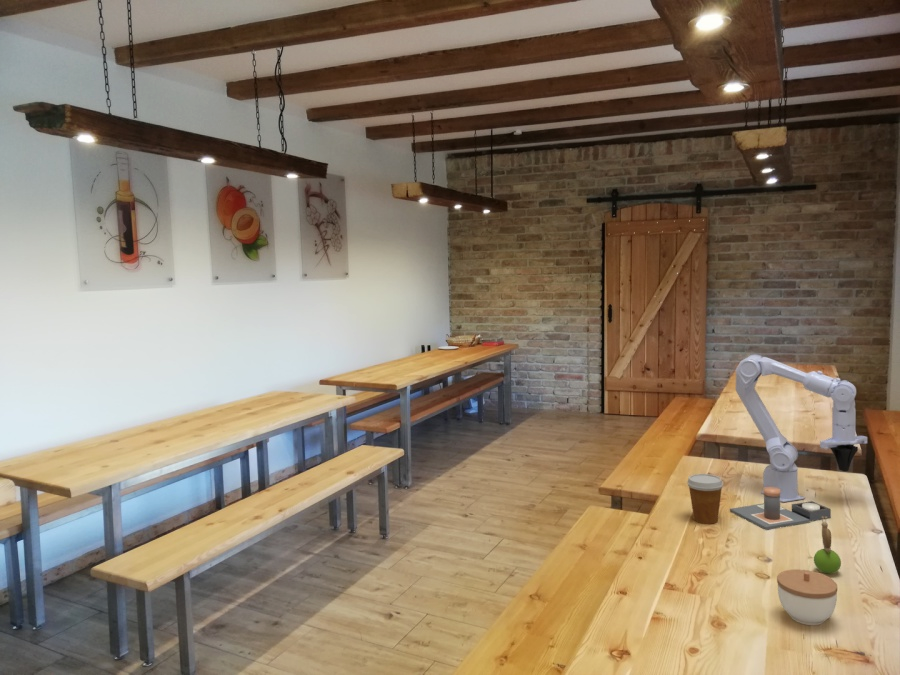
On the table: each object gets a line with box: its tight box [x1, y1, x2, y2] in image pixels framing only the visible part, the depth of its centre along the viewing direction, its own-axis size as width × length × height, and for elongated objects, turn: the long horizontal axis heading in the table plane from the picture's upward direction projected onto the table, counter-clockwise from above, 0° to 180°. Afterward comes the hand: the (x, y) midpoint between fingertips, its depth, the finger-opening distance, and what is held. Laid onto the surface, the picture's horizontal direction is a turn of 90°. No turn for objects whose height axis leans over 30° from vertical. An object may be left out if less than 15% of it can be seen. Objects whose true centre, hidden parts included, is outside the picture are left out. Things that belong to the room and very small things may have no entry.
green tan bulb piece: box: [813, 516, 842, 575], centre depth 154 cm, size 5×6×12 cm
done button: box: [802, 502, 820, 511], centre depth 187 cm, size 4×4×2 cm
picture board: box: [729, 502, 811, 531], centre depth 188 cm, size 15×14×1 cm
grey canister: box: [762, 487, 781, 520], centre depth 185 cm, size 4×4×8 cm
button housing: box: [791, 500, 832, 522], centre depth 188 cm, size 7×7×3 cm
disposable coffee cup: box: [686, 473, 724, 525], centre depth 188 cm, size 10×10×12 cm
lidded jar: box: [776, 569, 838, 626], centre depth 135 cm, size 11×11×9 cm
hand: (843, 470), depth 193 cm, fingers closed
